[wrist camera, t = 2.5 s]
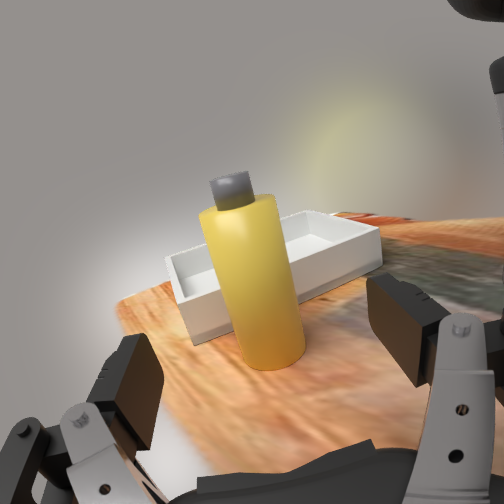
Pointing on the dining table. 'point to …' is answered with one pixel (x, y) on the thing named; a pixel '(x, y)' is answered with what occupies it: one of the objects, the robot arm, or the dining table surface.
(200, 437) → the dining table surface
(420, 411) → the dining table surface
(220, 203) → the squeeze bottle
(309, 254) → the tray
